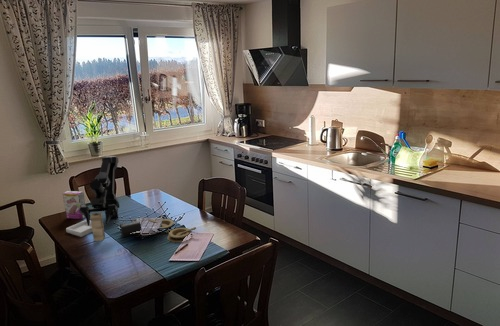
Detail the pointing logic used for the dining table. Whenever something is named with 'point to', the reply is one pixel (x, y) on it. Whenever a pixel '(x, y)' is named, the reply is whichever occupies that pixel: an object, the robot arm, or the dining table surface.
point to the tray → (80, 229)
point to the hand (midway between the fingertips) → (97, 224)
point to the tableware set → (174, 230)
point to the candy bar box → (74, 204)
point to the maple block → (97, 226)
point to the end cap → (130, 228)
